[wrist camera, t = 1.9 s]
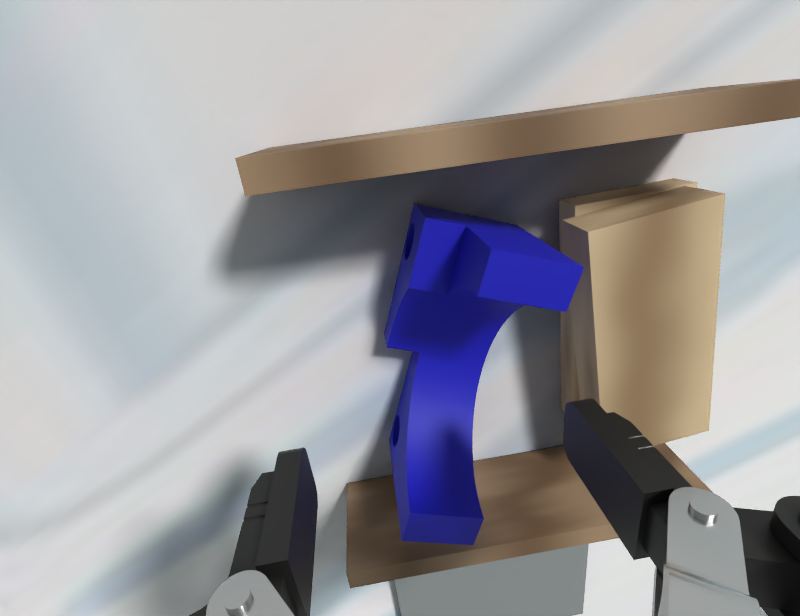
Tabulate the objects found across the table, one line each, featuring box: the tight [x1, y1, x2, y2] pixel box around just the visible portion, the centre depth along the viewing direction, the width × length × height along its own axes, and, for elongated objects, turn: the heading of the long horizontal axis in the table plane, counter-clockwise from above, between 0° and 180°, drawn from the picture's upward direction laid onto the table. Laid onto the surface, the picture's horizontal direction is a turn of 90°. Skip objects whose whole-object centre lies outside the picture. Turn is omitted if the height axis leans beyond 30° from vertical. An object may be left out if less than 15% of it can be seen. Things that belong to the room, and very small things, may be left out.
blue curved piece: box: [384, 203, 584, 545], centre depth 17 cm, size 12×4×6 cm, turn 167°
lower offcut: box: [559, 178, 698, 414], centre depth 20 cm, size 5×11×2 cm, turn 9°
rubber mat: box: [394, 544, 588, 616], centre depth 27 cm, size 12×11×1 cm
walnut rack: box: [235, 79, 800, 588], centre depth 18 cm, size 17×18×5 cm
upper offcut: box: [562, 186, 725, 446], centre depth 18 cm, size 5×11×2 cm, turn 14°
